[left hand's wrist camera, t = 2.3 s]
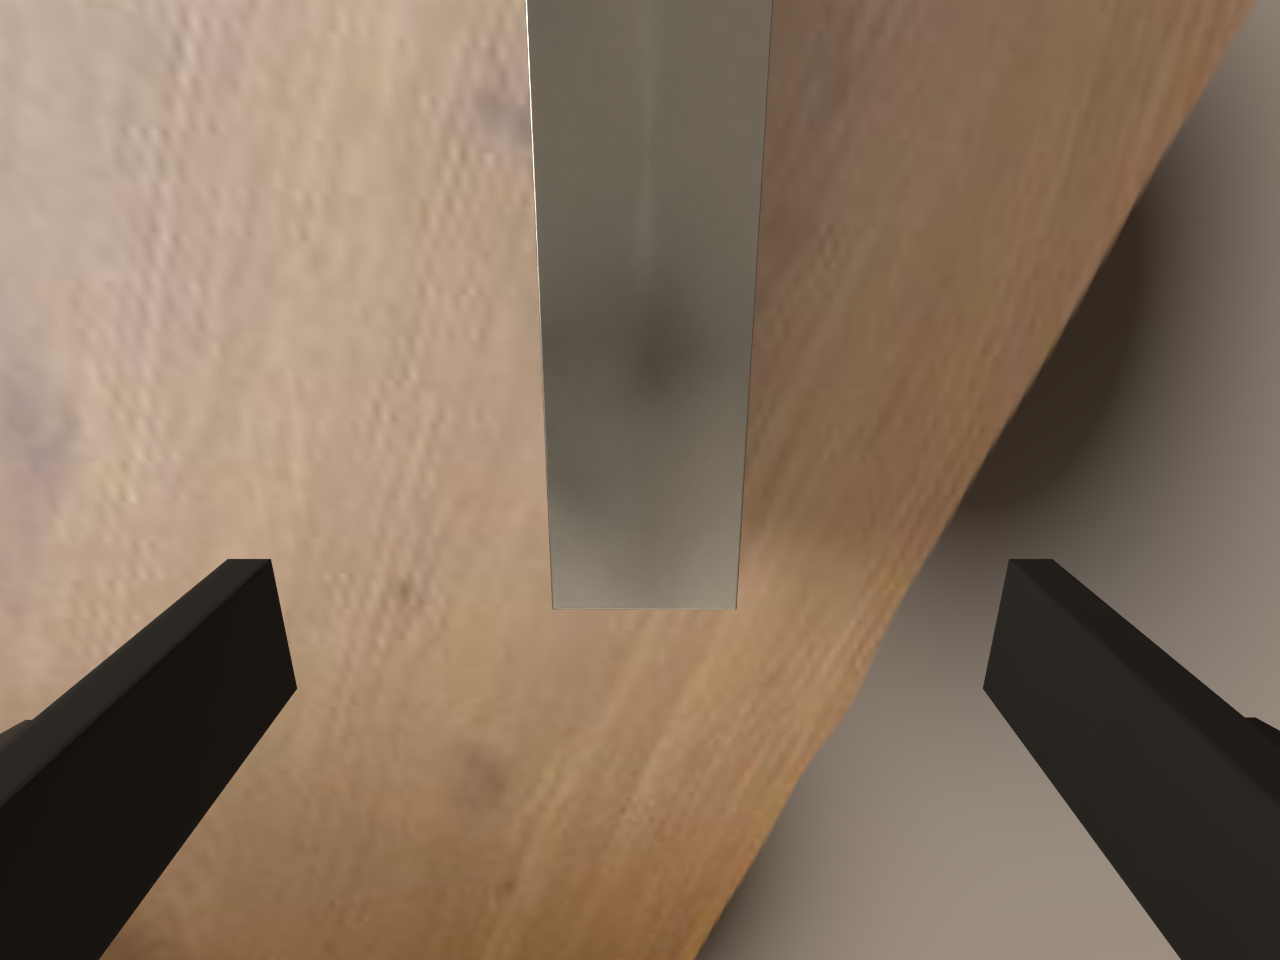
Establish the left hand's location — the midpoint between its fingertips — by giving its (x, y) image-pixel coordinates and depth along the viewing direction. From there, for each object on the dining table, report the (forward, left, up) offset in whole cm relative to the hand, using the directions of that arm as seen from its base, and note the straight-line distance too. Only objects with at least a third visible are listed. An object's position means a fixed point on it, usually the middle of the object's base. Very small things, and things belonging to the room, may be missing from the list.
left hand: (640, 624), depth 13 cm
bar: (+7, +4, -16) cm, 18 cm away
